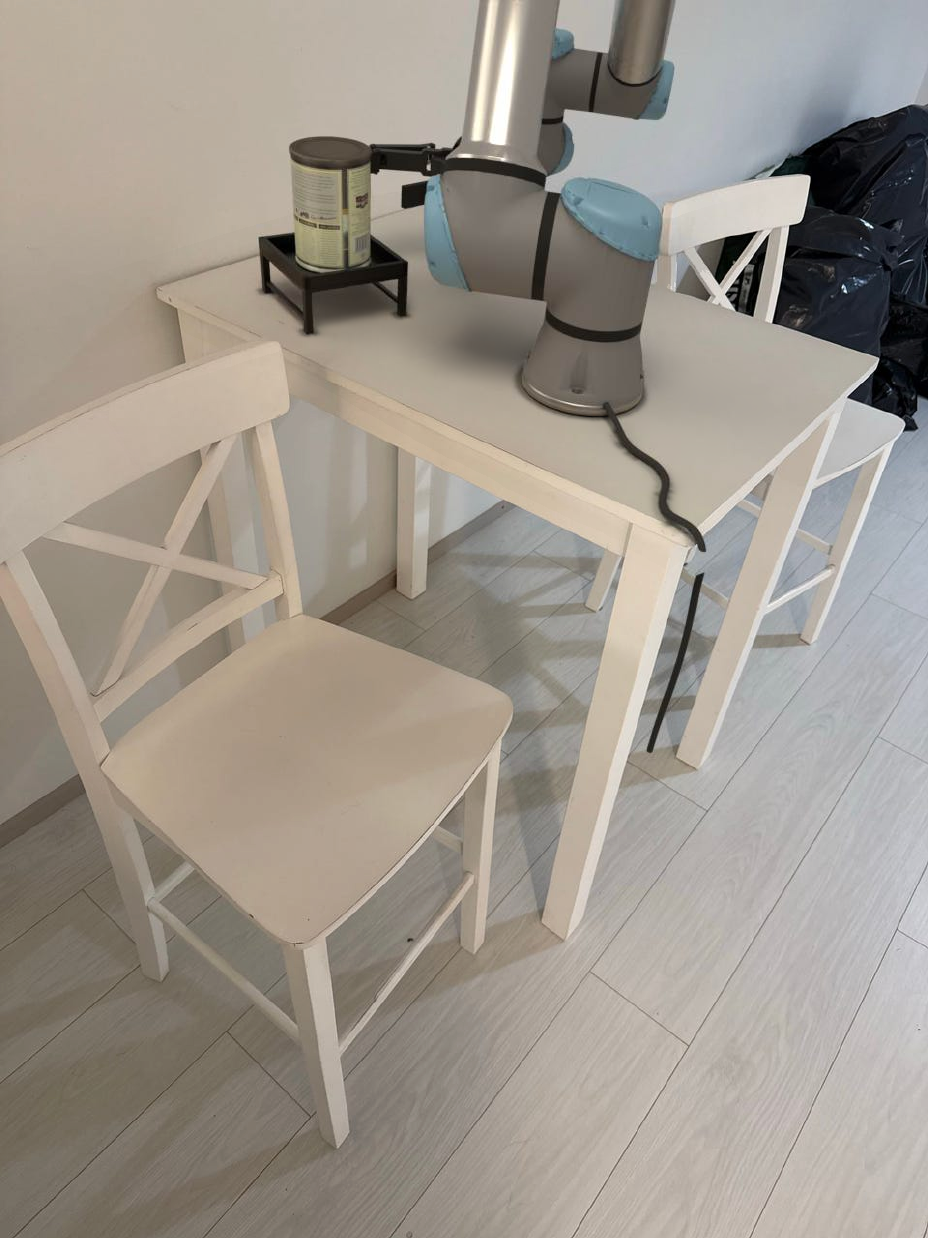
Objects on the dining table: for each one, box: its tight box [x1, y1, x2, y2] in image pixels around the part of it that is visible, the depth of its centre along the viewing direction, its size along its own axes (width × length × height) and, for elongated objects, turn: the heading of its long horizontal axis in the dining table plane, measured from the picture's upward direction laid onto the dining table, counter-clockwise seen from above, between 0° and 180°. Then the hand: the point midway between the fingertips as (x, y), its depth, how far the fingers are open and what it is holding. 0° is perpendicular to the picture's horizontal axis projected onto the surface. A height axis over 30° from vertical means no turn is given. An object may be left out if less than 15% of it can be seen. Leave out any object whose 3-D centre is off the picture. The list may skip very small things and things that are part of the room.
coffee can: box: [288, 135, 372, 273], centre depth 118 cm, size 10×10×14 cm
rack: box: [258, 231, 409, 335], centre depth 125 cm, size 15×15×8 cm
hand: (370, 181), depth 120 cm, fingers open, 13 cm apart
